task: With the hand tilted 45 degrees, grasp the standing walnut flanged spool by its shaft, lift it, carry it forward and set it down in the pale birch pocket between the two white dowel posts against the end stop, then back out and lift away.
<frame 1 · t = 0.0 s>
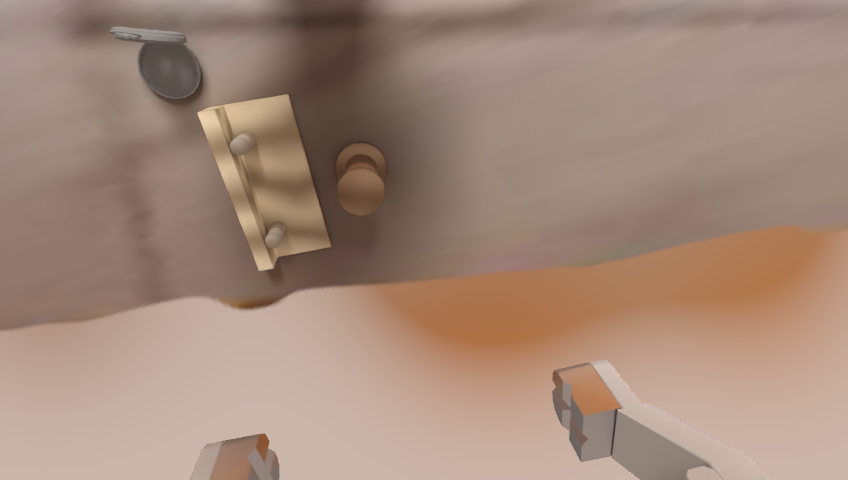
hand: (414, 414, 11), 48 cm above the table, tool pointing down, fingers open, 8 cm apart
dowel stop: (261, 185, 56), on the table
pocket watch: (173, 58, 48), on the table
flanged spool: (361, 167, 57), on the table
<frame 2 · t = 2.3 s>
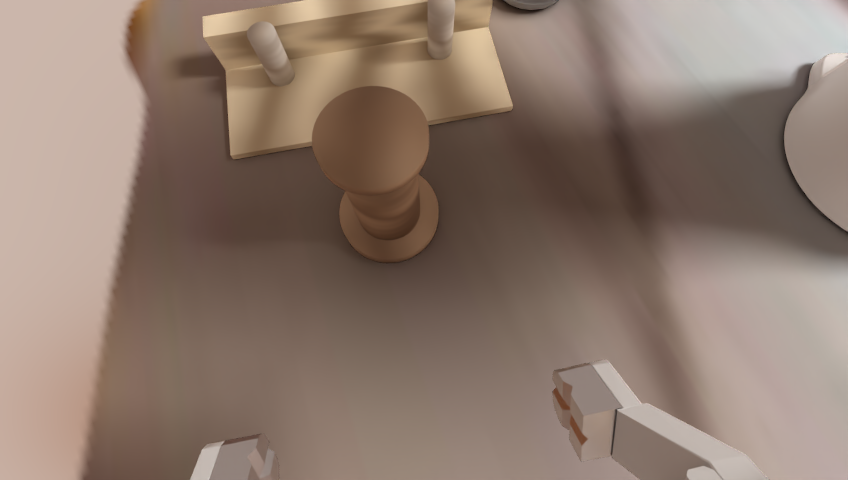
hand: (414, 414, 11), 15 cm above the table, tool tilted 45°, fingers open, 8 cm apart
dowel stop: (362, 63, 34), on the table
flanged spool: (390, 216, 29), on the table
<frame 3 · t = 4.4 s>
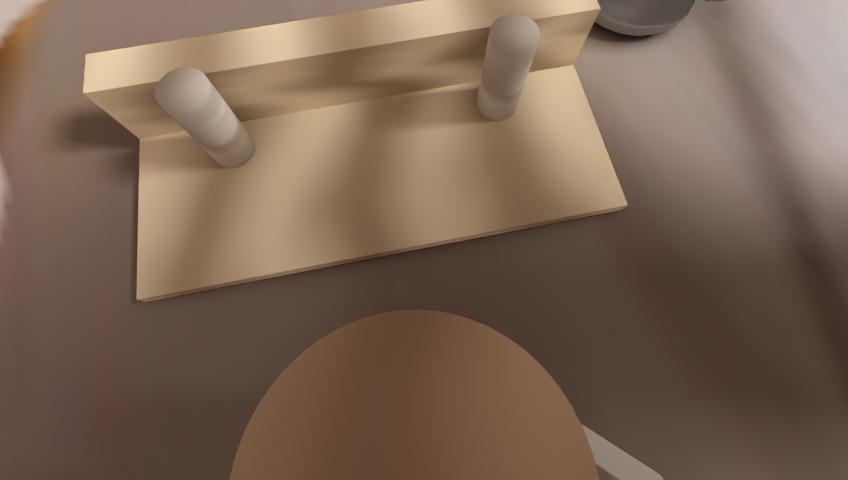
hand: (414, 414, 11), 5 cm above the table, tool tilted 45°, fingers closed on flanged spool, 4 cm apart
dowel stop: (368, 124, 20), on the table
pocket watch: (645, 2, 23), on the table
flanged spool: (421, 417, 16), on the table, touching gripper
when the fingers open (7 cm above the table, at t = 9.1 s): flanged spool stays where it is, resting on dowel stop.
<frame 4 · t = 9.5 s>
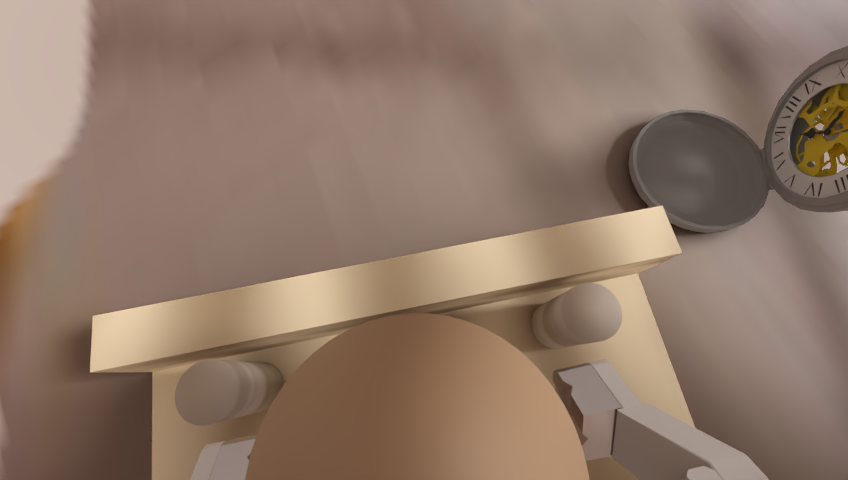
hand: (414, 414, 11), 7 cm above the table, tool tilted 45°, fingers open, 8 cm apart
dowel stop: (408, 344, 18), on the table
pocket watch: (709, 181, 21), on the table
flanged spool: (422, 415, 17), point 1 cm above the table, touching dowel stop
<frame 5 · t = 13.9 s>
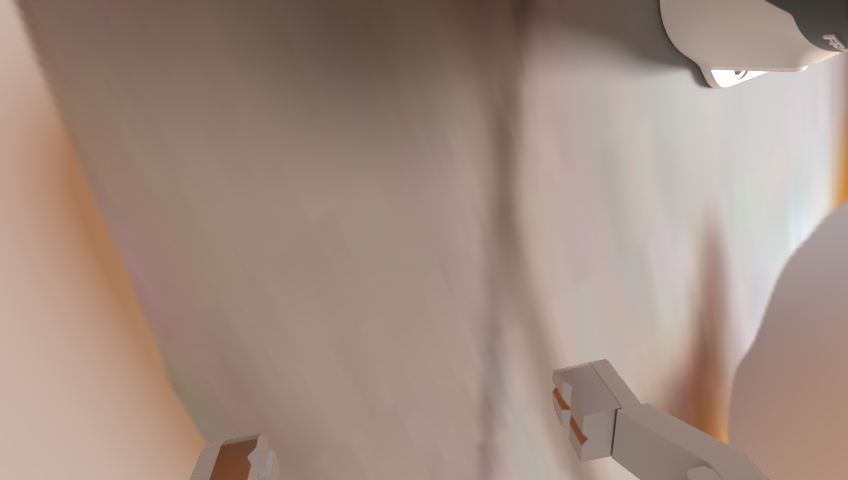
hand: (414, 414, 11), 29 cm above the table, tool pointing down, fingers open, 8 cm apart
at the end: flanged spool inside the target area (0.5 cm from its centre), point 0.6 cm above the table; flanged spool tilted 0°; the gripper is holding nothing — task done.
